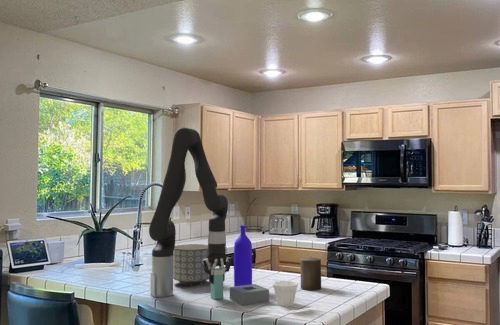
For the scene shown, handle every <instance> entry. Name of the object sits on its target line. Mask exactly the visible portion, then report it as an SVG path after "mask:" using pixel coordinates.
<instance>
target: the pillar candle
mask: <svg viewBox="0 0 500 325" xmlns="http://www.w3.org/2000/svg"><path fill="white" fill-rule="evenodd" d="M299 261H300V263H299V265H300V267H299V269H300V289H301V290H305V291H318V290H319V291H320V290H322V259H321V258H318V257H312V256H310V257H301V258H300V259H299Z"/></svg>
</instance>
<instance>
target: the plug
mask: <svg viewBox="0 0 500 325" xmlns="http://www.w3.org/2000/svg"><path fill="white" fill-rule="evenodd" d="M213 275H214V283H213V284H211V283H210V298H211V299H213V300H219V299H220V300H221V299H224V282H223V269H221V268H219V267H215V270H214V274H213Z"/></svg>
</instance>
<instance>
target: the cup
mask: <svg viewBox="0 0 500 325" xmlns="http://www.w3.org/2000/svg"><path fill="white" fill-rule="evenodd" d="M272 288H273V289H274V294H275V298H276V303H277V305H278V306H281V307H291V306H293V305H294V303H295V298H296V293H297V289H298V282H296V281H292V280H291V281H290V280H277V281H273V283H272Z"/></svg>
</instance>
